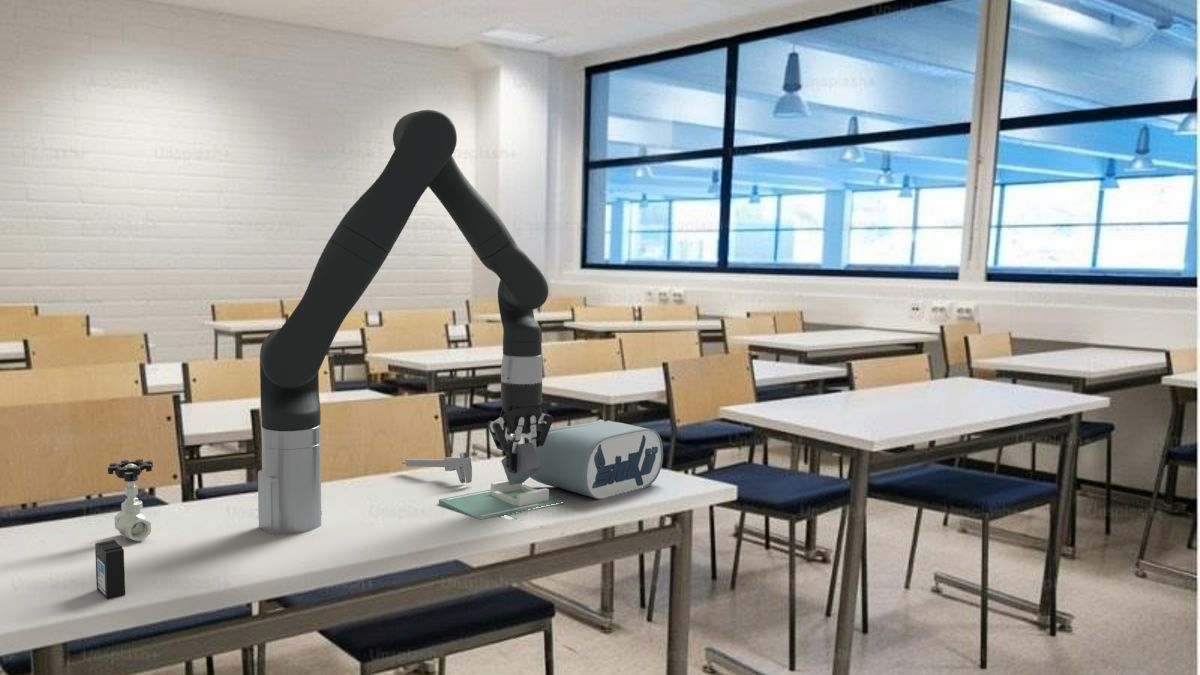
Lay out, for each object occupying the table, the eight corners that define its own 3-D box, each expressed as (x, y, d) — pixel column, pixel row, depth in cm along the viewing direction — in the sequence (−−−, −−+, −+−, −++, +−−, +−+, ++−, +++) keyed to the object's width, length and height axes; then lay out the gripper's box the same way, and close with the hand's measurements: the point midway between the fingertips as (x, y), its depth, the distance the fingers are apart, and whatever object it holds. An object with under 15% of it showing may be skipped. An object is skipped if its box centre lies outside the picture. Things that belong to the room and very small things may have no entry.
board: (480, 526, 156) (480, 507, 155) (438, 505, 166) (438, 488, 166) (563, 507, 167) (564, 490, 167) (519, 489, 178) (520, 473, 177)
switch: (518, 444, 166) (499, 461, 171) (527, 469, 164) (508, 486, 169) (532, 442, 168) (513, 459, 173) (541, 466, 166) (521, 483, 171)
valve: (117, 547, 141) (114, 472, 139) (103, 536, 145) (101, 463, 144) (162, 538, 145) (160, 465, 144) (147, 528, 150) (145, 456, 149)
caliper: (471, 484, 179) (472, 453, 179) (467, 485, 178) (468, 454, 178) (405, 464, 192) (406, 434, 191) (401, 465, 191) (402, 435, 190)
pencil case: (585, 509, 167) (587, 440, 165) (516, 487, 180) (517, 423, 178) (662, 487, 183) (664, 424, 181) (594, 468, 196) (595, 409, 194)
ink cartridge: (96, 599, 122) (94, 541, 121) (114, 595, 123) (112, 537, 122) (106, 611, 118) (104, 551, 117) (125, 606, 120) (123, 547, 119)
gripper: (501, 385, 159) (499, 481, 161) (564, 378, 168) (562, 469, 170) (478, 379, 165) (477, 472, 167) (540, 372, 174) (538, 461, 176)
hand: (520, 470), depth 169 cm, fingers closed on switch, 2 cm apart
